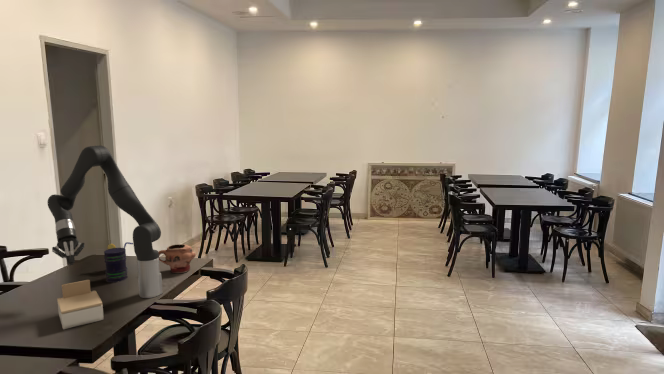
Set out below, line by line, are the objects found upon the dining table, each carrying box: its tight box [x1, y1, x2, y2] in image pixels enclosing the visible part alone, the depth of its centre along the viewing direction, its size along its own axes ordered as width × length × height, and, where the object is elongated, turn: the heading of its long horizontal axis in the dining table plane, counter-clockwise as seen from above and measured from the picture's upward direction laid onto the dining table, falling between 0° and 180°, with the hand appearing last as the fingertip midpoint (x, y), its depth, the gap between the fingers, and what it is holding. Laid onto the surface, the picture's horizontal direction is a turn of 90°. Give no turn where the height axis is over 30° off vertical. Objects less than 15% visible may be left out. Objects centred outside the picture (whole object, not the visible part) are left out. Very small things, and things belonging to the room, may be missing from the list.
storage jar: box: [103, 247, 128, 283], centre depth 220 cm, size 10×10×15 cm
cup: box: [106, 241, 134, 252], centre depth 234 cm, size 14×8×15 cm, turn 95°
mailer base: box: [57, 303, 105, 330], centre depth 176 cm, size 14×16×6 cm
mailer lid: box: [56, 279, 103, 314], centre depth 175 cm, size 14×16×6 cm
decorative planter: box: [158, 243, 197, 274], centre depth 231 cm, size 20×12×14 cm, turn 103°
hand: (71, 264), depth 190 cm, fingers closed
